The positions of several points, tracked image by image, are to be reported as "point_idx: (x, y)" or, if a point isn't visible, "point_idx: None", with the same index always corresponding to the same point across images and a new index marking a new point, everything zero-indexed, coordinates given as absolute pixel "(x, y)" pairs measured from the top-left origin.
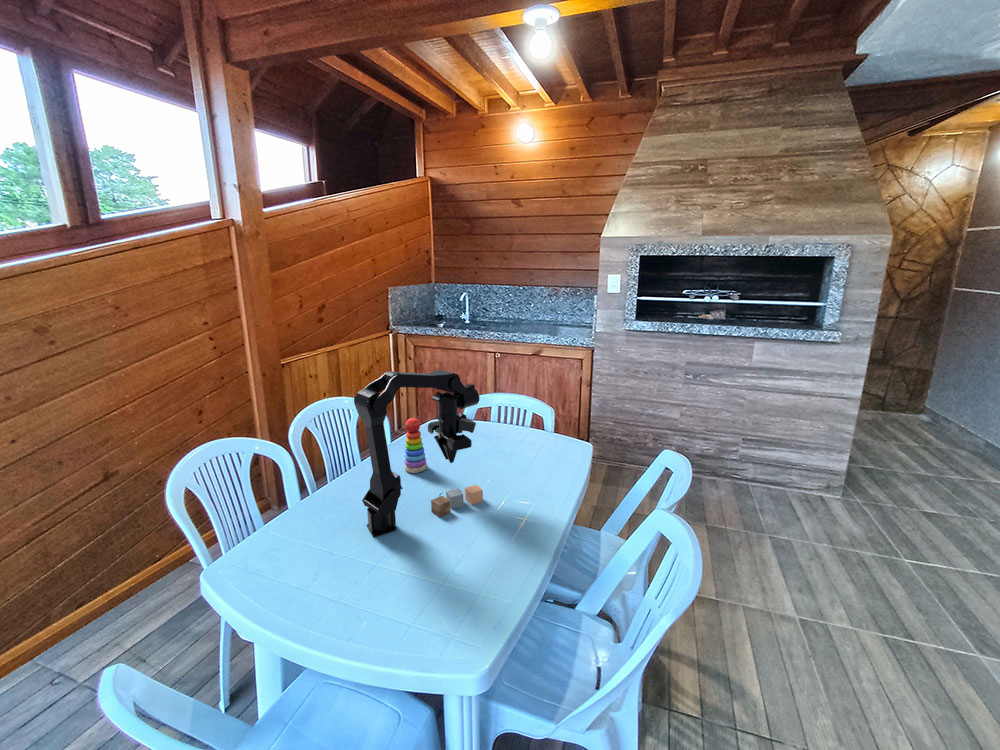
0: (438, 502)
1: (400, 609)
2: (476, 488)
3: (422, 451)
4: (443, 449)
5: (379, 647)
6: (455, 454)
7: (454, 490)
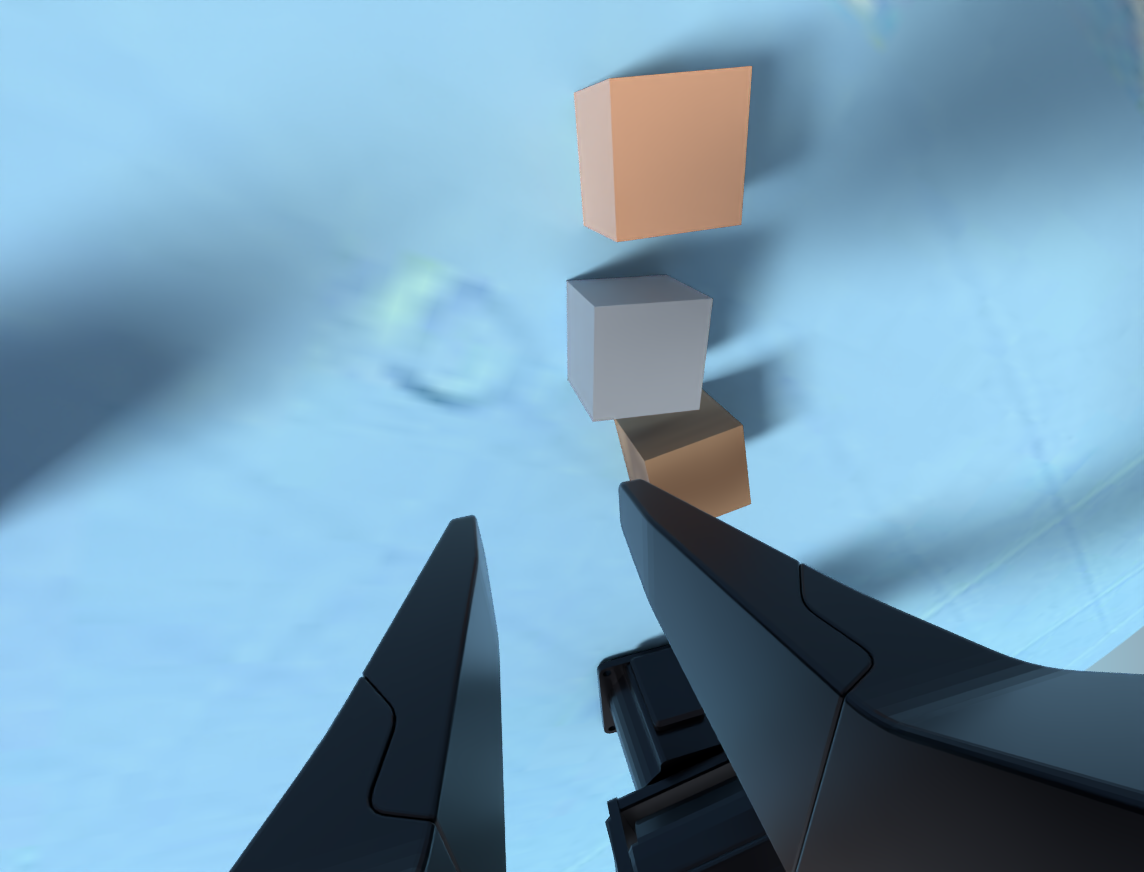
0: (717, 500)
1: (1037, 620)
2: (689, 123)
3: None
4: (498, 783)
5: (1080, 653)
6: (772, 557)
7: (614, 352)
